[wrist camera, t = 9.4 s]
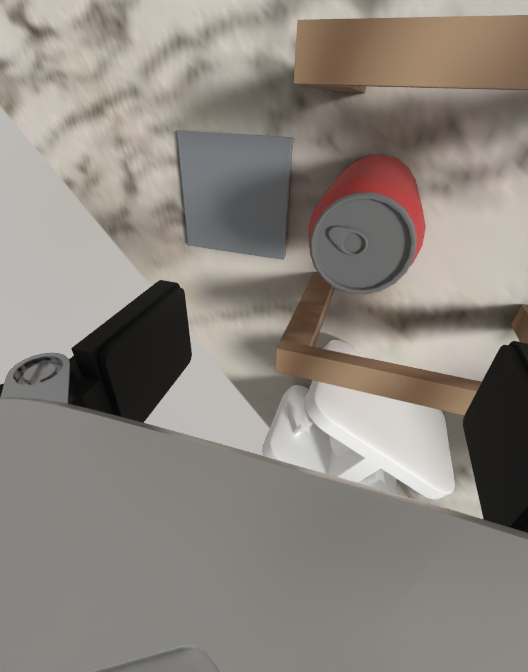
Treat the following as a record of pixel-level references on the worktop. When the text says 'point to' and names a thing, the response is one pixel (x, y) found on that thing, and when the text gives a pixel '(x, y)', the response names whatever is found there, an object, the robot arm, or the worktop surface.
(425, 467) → the cable organizer
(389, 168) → the beer can
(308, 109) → the worktop surface
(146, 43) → the worktop surface
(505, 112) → the worktop surface
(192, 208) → the coaster
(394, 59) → the frame
